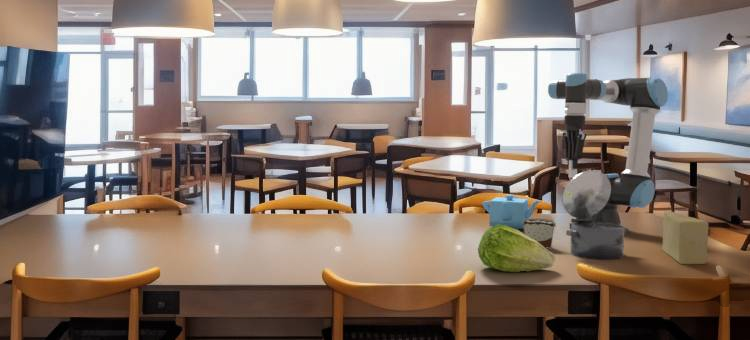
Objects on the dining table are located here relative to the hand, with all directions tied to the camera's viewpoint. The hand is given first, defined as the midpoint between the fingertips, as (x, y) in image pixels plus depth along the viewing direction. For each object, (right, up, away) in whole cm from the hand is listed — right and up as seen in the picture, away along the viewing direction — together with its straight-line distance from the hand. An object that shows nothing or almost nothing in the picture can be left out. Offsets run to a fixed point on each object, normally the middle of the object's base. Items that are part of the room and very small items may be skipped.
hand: (572, 177), depth 266 cm
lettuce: (-29, -30, -38) cm, 56 cm away
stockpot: (+4, -27, -13) cm, 30 cm away
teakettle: (-17, -23, +33) cm, 43 cm away
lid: (+3, -8, -10) cm, 13 cm away
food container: (-13, -26, 0) cm, 29 cm away
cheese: (+32, -28, -18) cm, 46 cm away
